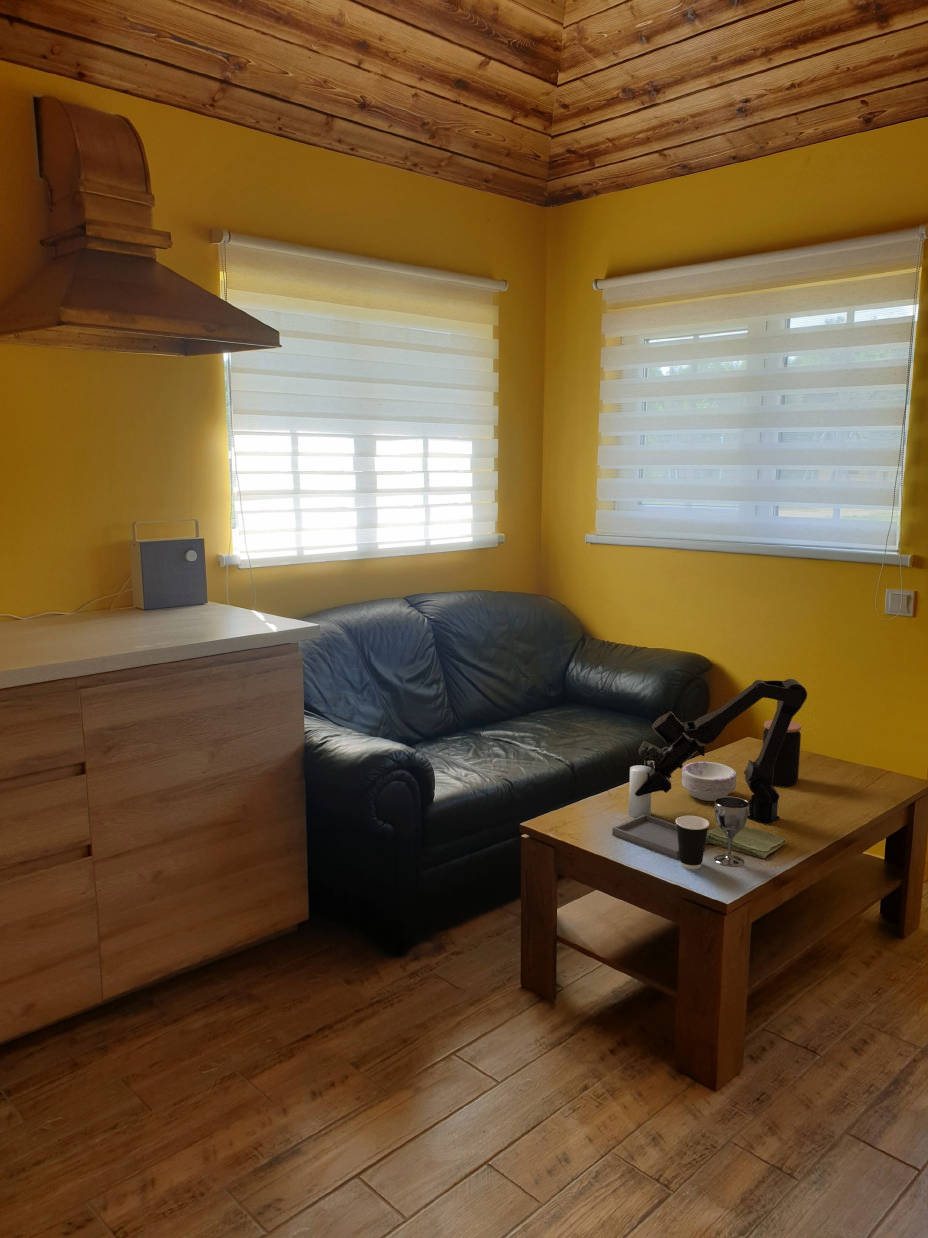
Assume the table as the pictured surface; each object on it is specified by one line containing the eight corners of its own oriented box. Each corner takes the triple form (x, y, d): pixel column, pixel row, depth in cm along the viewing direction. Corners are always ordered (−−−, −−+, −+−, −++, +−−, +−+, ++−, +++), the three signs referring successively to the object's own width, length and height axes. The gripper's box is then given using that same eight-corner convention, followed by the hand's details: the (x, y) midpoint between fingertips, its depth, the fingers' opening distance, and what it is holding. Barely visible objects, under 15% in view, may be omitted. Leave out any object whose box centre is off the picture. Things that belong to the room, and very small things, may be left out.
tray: (708, 843, 236) (709, 836, 235) (676, 859, 226) (677, 851, 226) (644, 820, 250) (645, 814, 250) (612, 835, 241) (612, 827, 241)
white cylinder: (655, 814, 255) (656, 769, 253) (641, 820, 251) (643, 774, 249) (637, 808, 259) (638, 763, 257) (624, 813, 255) (625, 768, 253)
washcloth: (766, 863, 226) (767, 850, 225) (700, 843, 237) (700, 831, 236) (787, 846, 235) (788, 834, 235) (723, 828, 247) (723, 816, 246)
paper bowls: (727, 809, 259) (729, 782, 257) (674, 799, 266) (675, 773, 265) (740, 792, 272) (742, 766, 270) (689, 783, 279) (691, 758, 278)
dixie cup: (666, 862, 225) (668, 819, 223) (691, 855, 229) (693, 813, 227) (689, 874, 218) (691, 830, 216) (714, 867, 222) (716, 824, 220)
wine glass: (747, 868, 221) (750, 809, 219) (713, 866, 223) (716, 807, 220) (744, 855, 229) (747, 797, 226) (711, 852, 230) (714, 795, 228)
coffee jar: (767, 773, 288) (770, 717, 284) (802, 780, 281) (805, 723, 278) (755, 783, 279) (759, 725, 276) (791, 790, 273) (795, 731, 270)
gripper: (654, 723, 260) (613, 759, 263) (660, 743, 242) (616, 782, 245) (681, 751, 260) (640, 786, 263) (689, 773, 242) (645, 811, 245)
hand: (635, 791), depth 254 cm, fingers closed on white cylinder, 6 cm apart
